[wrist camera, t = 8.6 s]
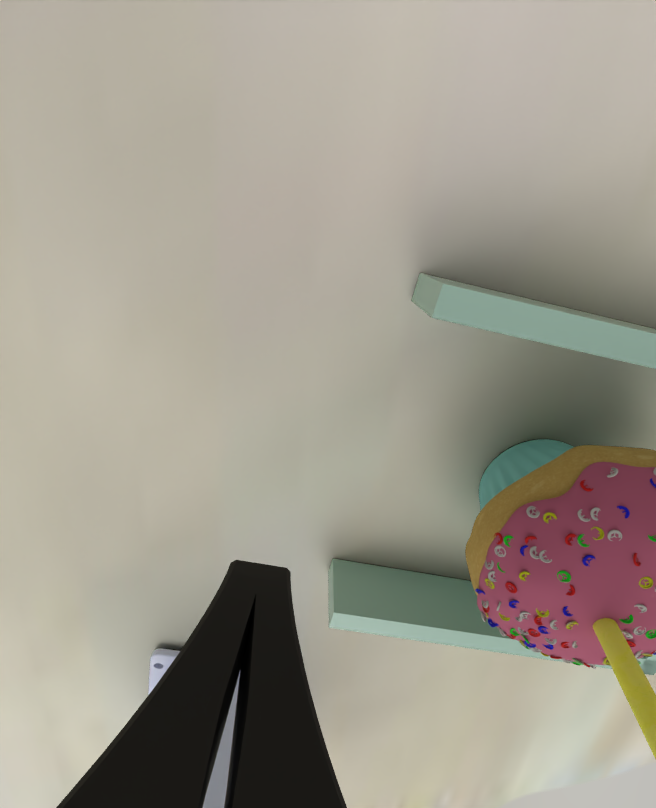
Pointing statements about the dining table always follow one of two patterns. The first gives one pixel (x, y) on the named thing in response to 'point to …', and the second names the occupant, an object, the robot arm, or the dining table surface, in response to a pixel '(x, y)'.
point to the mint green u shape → (448, 597)
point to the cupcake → (572, 558)
